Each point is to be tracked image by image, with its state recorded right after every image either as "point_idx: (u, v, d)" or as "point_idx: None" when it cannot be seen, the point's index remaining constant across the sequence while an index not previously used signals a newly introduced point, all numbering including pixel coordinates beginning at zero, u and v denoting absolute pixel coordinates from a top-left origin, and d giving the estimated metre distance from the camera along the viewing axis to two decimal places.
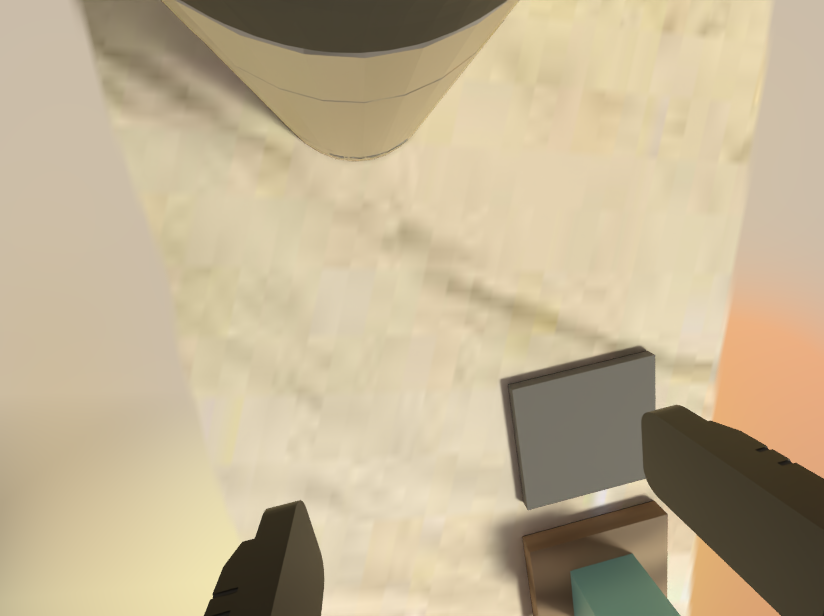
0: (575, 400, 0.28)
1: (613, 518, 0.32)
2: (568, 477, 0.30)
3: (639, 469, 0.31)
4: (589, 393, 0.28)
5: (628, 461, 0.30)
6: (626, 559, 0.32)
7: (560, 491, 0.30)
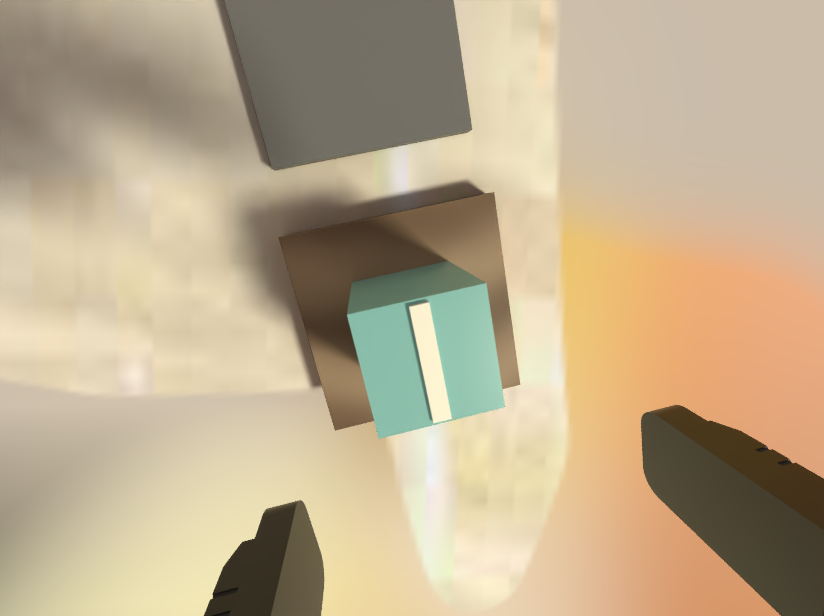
0: None
1: (419, 207, 0.22)
2: (327, 111, 0.20)
3: (444, 112, 0.20)
4: None
5: (423, 94, 0.20)
6: (435, 265, 0.21)
7: (320, 139, 0.20)
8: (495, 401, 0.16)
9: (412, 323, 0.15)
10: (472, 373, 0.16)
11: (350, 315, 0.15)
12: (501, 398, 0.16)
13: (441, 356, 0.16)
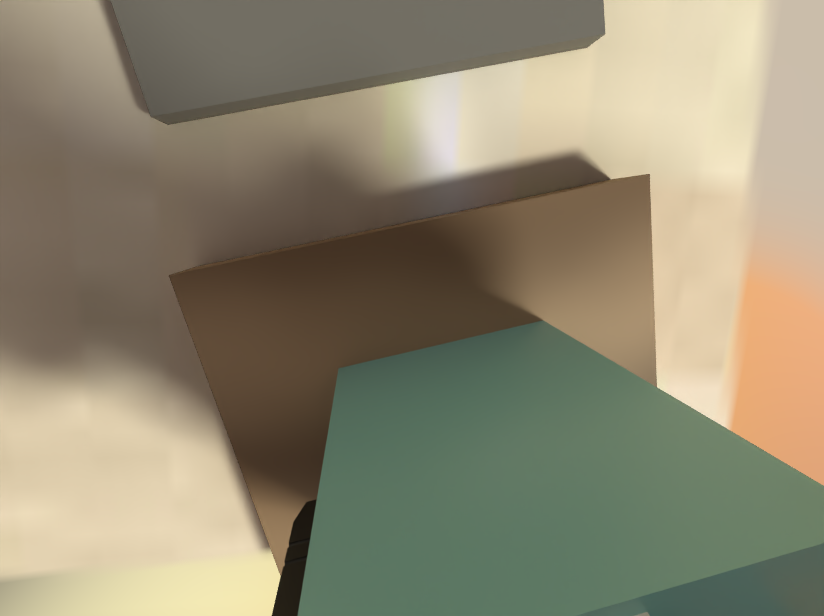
0: None
1: (482, 207, 0.10)
2: None
3: None
4: None
5: None
6: (520, 331, 0.10)
7: (263, 47, 0.09)
8: None
9: None
10: None
11: None
12: None
13: None
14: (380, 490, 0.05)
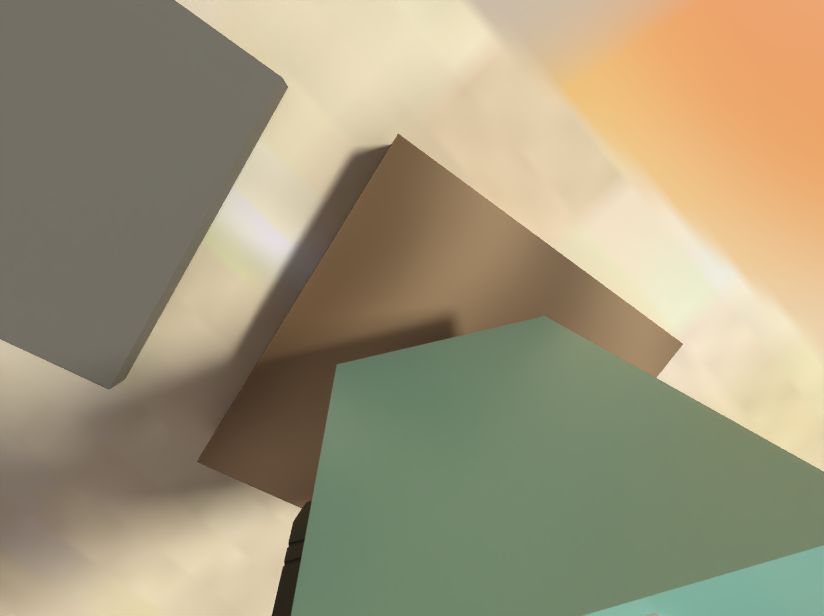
0: None
1: None
2: (87, 258, 0.11)
3: (222, 96, 0.11)
4: None
5: (169, 103, 0.10)
6: (521, 327, 0.10)
7: (118, 300, 0.12)
8: None
9: None
10: None
11: None
12: None
13: None
14: (378, 486, 0.05)
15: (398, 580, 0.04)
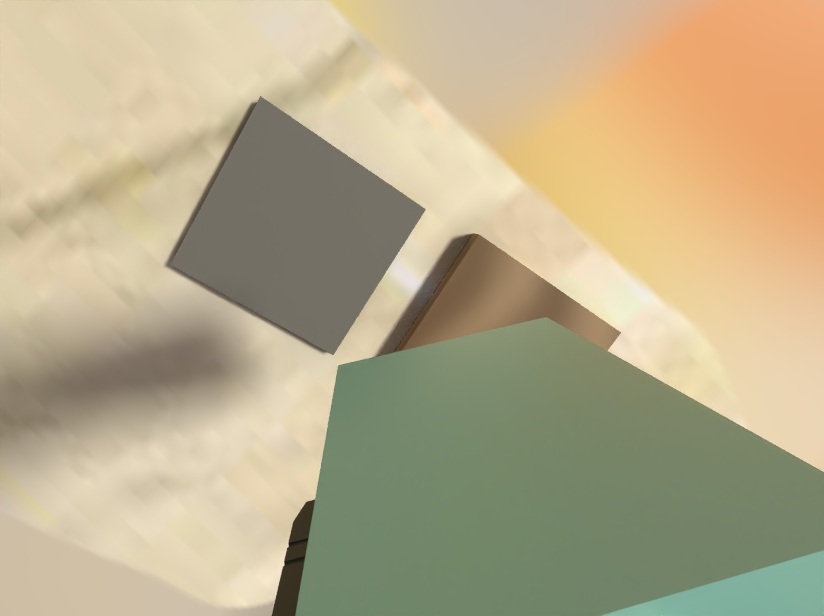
0: (241, 217, 0.22)
1: (439, 288, 0.25)
2: (331, 292, 0.24)
3: (398, 218, 0.23)
4: (245, 197, 0.22)
5: (375, 222, 0.23)
6: (523, 328, 0.10)
7: (342, 311, 0.24)
8: None
9: None
10: None
11: None
12: None
13: None
14: (381, 488, 0.05)
15: (402, 583, 0.04)
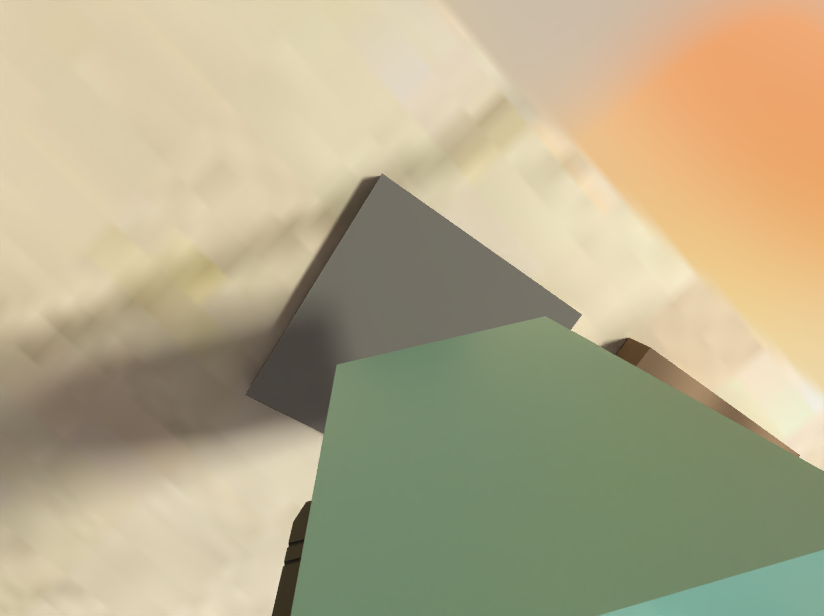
0: (344, 331, 0.16)
1: None
2: None
3: None
4: (352, 306, 0.16)
5: None
6: (522, 327, 0.10)
7: None
8: None
9: None
10: None
11: None
12: None
13: None
14: (378, 487, 0.05)
15: (398, 583, 0.04)
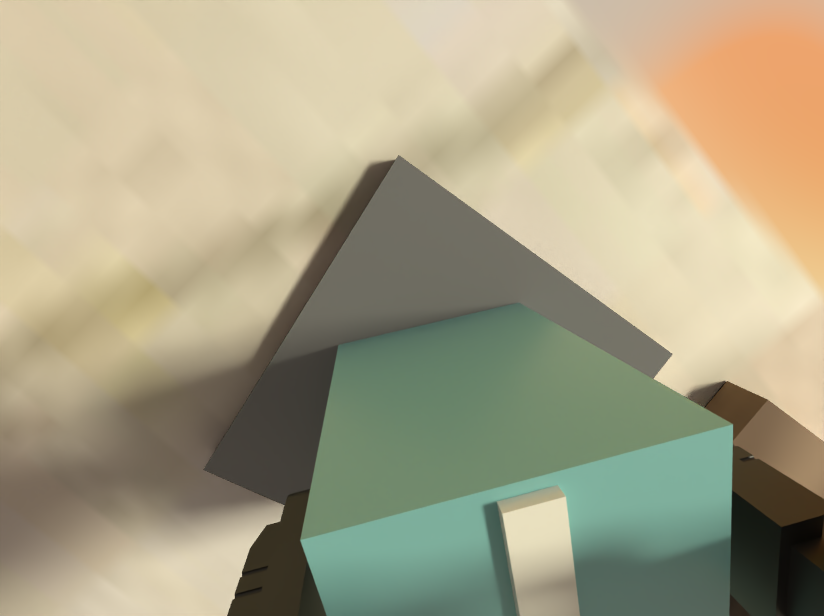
0: None
1: None
2: None
3: None
4: None
5: None
6: (497, 311, 0.11)
7: None
8: None
9: (505, 549, 0.05)
10: None
11: (312, 539, 0.05)
12: None
13: None
14: (371, 424, 0.07)
15: (384, 475, 0.05)
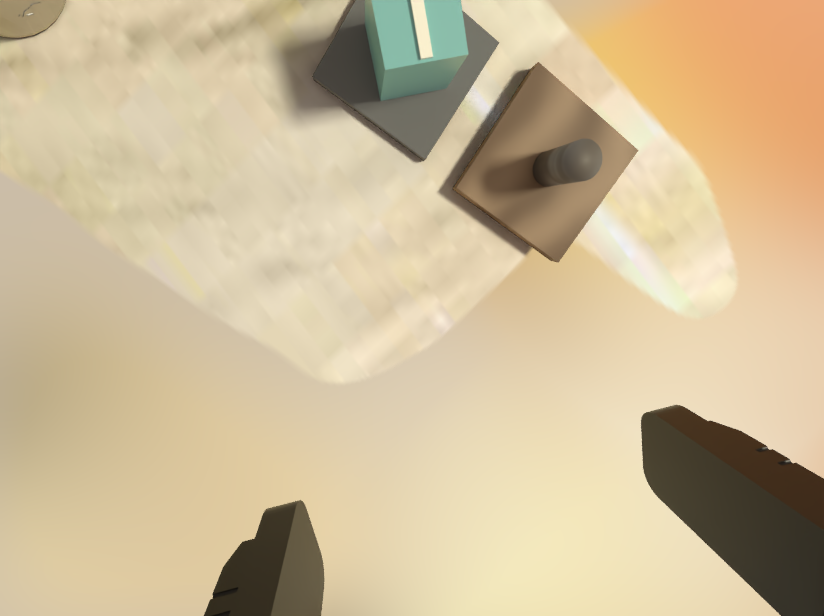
0: (366, 40, 0.30)
1: (505, 109, 0.33)
2: (427, 106, 0.32)
3: (479, 49, 0.31)
4: None
5: None
6: None
7: (434, 123, 0.32)
8: (462, 49, 0.25)
9: None
10: (446, 24, 0.24)
11: None
12: (465, 47, 0.25)
13: (425, 8, 0.24)
14: None
15: None
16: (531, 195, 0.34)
